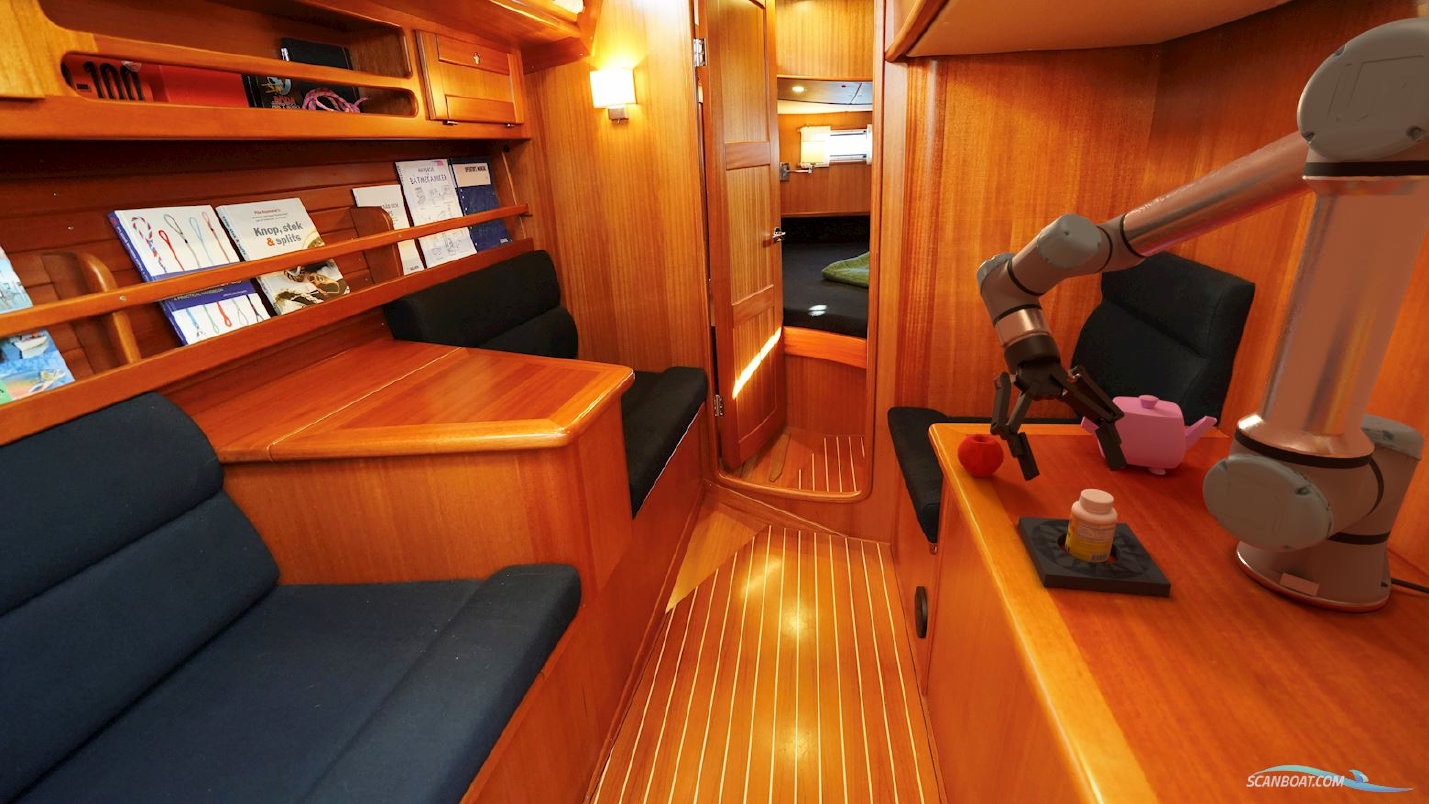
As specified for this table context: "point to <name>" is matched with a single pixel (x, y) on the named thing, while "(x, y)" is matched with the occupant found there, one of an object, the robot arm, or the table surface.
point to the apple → (980, 455)
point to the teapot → (1153, 432)
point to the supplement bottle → (1091, 527)
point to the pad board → (1065, 571)
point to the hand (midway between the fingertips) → (1076, 473)
